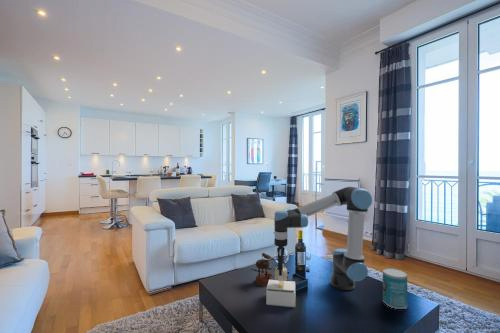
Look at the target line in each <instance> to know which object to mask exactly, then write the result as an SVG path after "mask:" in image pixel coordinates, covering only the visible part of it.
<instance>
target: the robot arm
mask: <svg viewBox="0 0 500 333" xmlns="http://www.w3.org/2000/svg"><path fill="white" fill-rule="evenodd" d="M372 204H373V196H372V195H371V193H370V192H369V191H368V190H367V189H365V188H363V187H356V186H355V187H354V186H346V187H343V188H341V189H338V190H336V191H333V192H332V193H331V194H329V195H328V196H327V195H326V196H324V197H322V198H320V199H317V200H314V201H312V202H309V203H306V204H304V205H301V206H299V207H297V208H293V209H287V210H278V211H277V210H276V211H275V212H274V219H273V220H274V232H273V234H274V239H273V240H274V242H273V244H274V246H276V247H277V249H276V251H277V267H278V268H277V267H276V268H277V270H278V281H283V268H285V261H284V259H285V258H284V256H285V247H288V235H289V234H288V233H289V232H288V229H291V228H292V229H296V228H298V229H300V228H301V229H302V228H307V227H308V225H309V217H310V216H311V217H312V216H314V215H317V214H318V213H321V212H323V211H326V210H329V209H331V208H334V207H341V206H344V205H346V210H347V212H348V222H347V223H348V224H347V239H346V240H347V242H346V248H336V249H335V248H334V250H332V274H331V276H330V279H329V281H330V282H329V284H330V286H332V287H333V288H335V289H337V290H339V291H340V290H341V291H352V290H354V289H355V288H356V283H355V282H361V281H363V280H364V279H366V277H367V275H368V273H369V272H368V271H369V269H368V267H367V265H366V264H365V260H366V259H365V258H366V257H365V255H363V246H364V230H365V229H364V228H365V226H364V225H365V215H366V214H367V213H368V211H369V210H368V208H370V207H371V205H372Z"/></svg>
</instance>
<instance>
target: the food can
mask: <svg viewBox="0 0 500 333" xmlns="http://www.w3.org/2000/svg"><path fill="white" fill-rule="evenodd" d="M383 302H384V303H385V304H386V305H387V306H386V305H385V304H384V303H383ZM382 303H383V304H384V305H385V306H386V307H388V306H389V307H391V308H390V309H392V308H395V309H394V310H396V309H405V310H406V309H408V274H407V273H406V272H405V271H403V270H400V269H397V268H392V267H391V268H389V267H388V268H384V269H382ZM389 307H388V308H389Z"/></svg>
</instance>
